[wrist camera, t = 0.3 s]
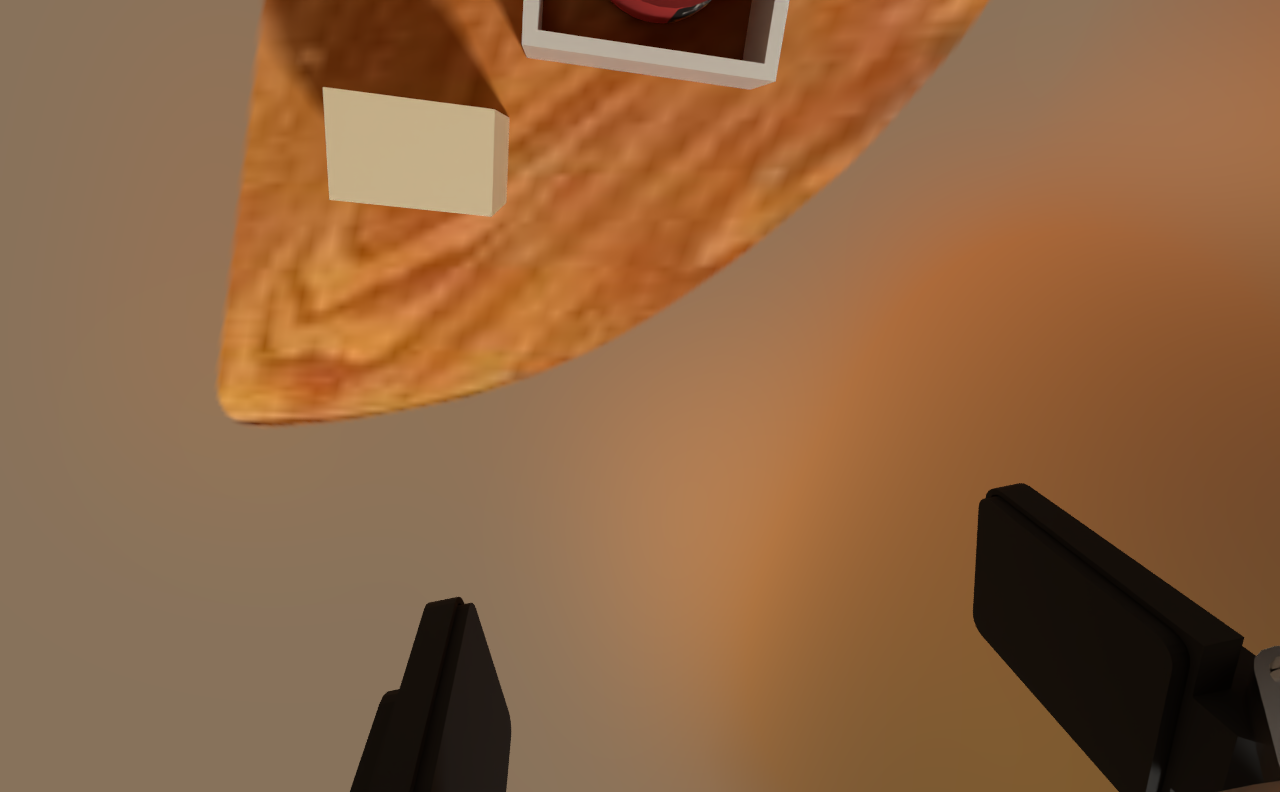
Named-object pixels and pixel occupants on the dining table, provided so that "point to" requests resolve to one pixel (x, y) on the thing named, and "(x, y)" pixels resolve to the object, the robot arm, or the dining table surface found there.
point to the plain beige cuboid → (415, 153)
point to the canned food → (661, 9)
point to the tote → (667, 50)
